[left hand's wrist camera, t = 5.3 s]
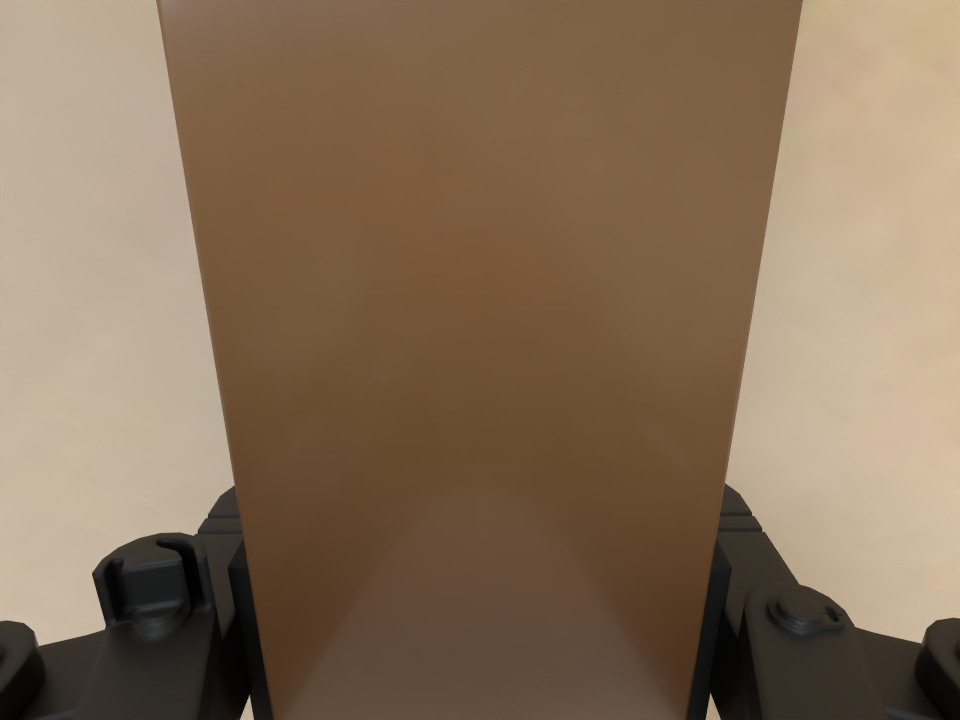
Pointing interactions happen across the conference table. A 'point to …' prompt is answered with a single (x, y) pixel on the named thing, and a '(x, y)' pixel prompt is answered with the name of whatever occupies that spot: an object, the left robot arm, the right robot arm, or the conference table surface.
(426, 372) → the beam
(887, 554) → the conference table surface
